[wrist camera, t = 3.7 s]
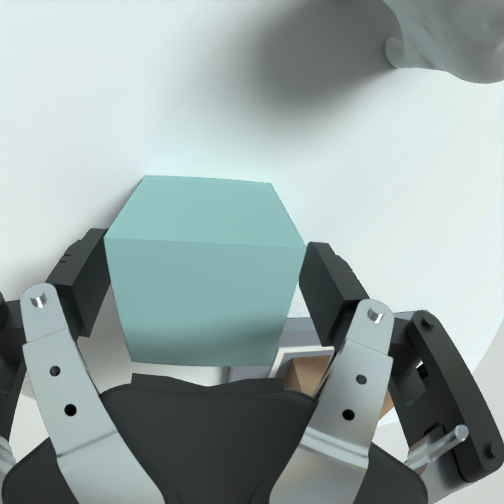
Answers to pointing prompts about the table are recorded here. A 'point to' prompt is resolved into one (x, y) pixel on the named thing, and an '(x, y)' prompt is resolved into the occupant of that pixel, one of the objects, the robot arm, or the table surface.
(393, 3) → the dog figurine
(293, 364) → the walnut block
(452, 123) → the table surface
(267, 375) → the board
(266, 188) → the teal cube
